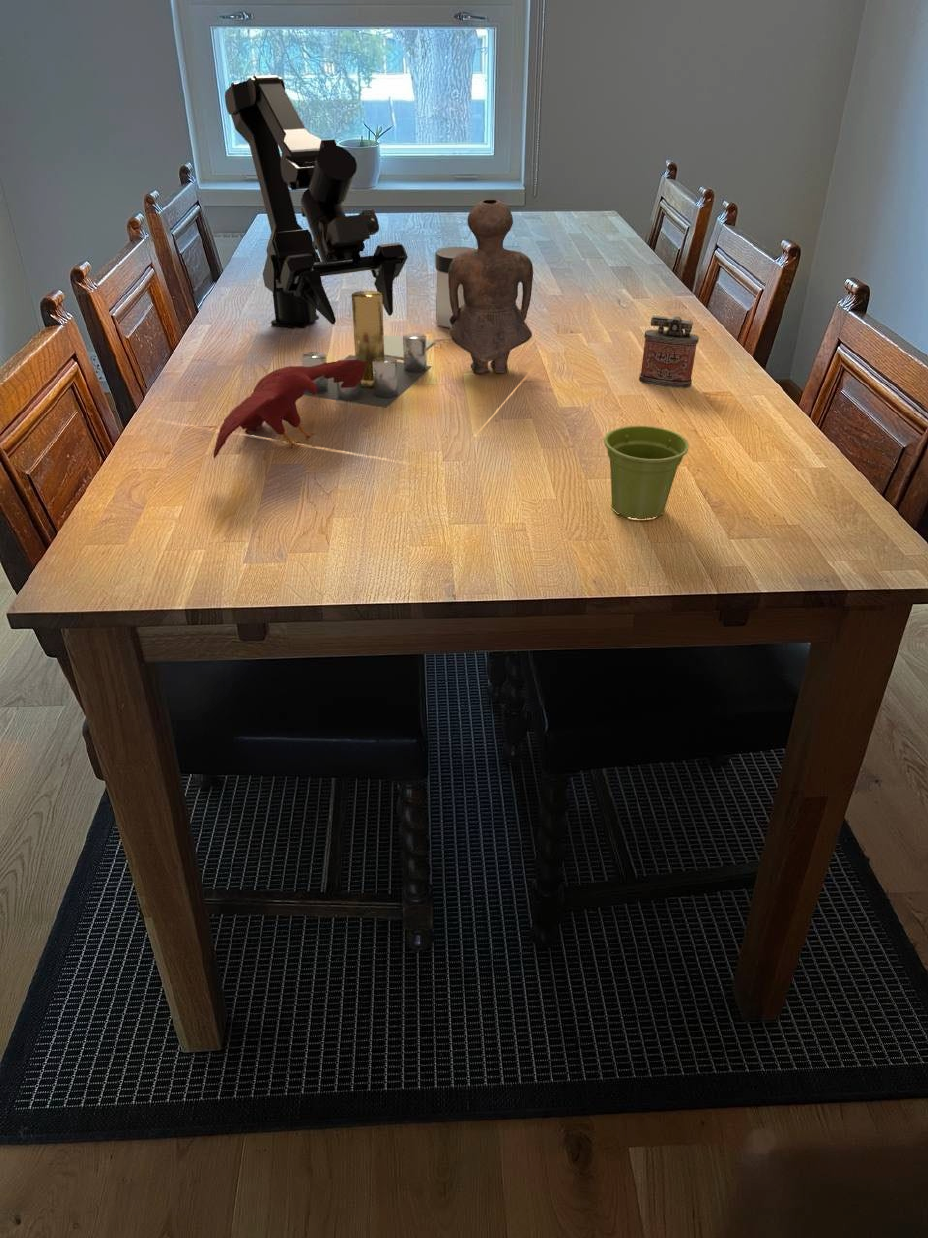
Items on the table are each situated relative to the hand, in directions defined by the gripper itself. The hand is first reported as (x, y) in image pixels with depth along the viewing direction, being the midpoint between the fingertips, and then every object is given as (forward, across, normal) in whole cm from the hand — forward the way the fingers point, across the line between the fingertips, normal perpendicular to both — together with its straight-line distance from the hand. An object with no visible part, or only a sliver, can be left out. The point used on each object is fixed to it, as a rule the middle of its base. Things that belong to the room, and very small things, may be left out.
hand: (362, 318), depth 136 cm
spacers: (+7, 0, +6) cm, 9 cm away
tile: (0, +10, +14) cm, 17 cm away
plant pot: (+45, +11, -30) cm, 55 cm away
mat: (+7, 0, +6) cm, 9 cm away
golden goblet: (+8, 0, +5) cm, 9 cm away
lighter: (+23, +40, -9) cm, 47 cm away
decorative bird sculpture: (+18, -19, -4) cm, 26 cm away
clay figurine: (+10, +19, +3) cm, 22 cm away
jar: (-6, +26, +20) cm, 33 cm away
